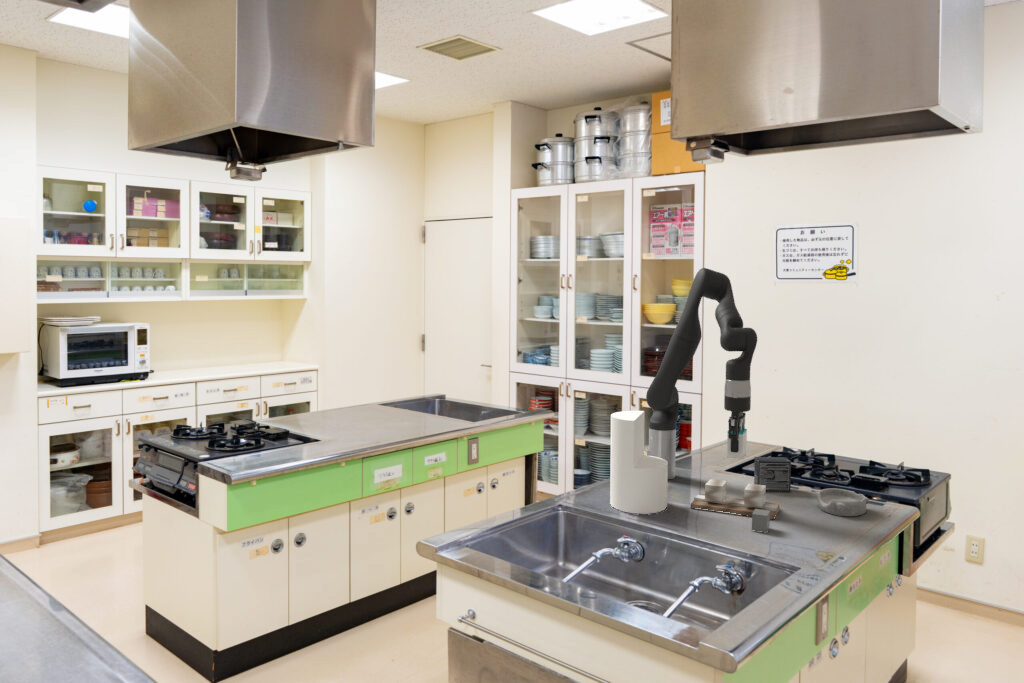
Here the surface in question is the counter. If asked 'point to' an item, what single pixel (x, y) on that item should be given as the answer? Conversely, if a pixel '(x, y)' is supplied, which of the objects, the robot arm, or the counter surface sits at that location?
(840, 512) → the dish
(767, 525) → the grey block
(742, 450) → the block
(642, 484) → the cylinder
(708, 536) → the counter surface
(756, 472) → the small box
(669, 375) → the robot arm
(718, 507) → the board
